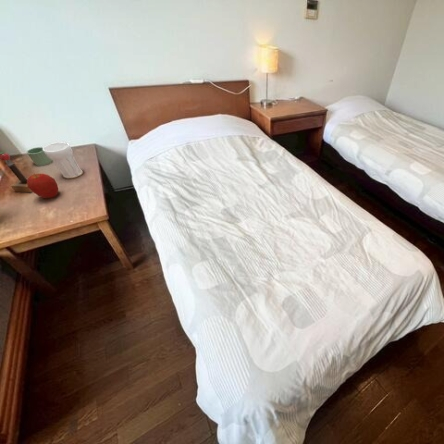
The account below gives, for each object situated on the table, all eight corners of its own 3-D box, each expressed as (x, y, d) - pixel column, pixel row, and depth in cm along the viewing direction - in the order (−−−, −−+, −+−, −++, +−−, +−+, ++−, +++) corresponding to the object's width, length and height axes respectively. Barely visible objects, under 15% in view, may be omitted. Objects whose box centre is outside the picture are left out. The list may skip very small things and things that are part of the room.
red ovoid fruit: (63, 188, 133) (47, 165, 124) (64, 198, 128) (47, 175, 118) (38, 194, 128) (20, 171, 119) (38, 204, 123) (19, 181, 113)
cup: (59, 173, 143) (40, 145, 131) (83, 167, 149) (66, 140, 137) (63, 182, 137) (43, 153, 125) (87, 175, 143) (70, 148, 131)
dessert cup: (31, 164, 147) (22, 152, 142) (45, 158, 153) (37, 146, 147) (42, 167, 146) (33, 155, 140) (56, 161, 152) (48, 149, 146)
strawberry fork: (23, 189, 130) (-6, 154, 116) (29, 185, 133) (0, 150, 119) (30, 190, 130) (2, 155, 116) (36, 186, 133) (8, 151, 119)
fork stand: (15, 192, 128) (10, 185, 125) (28, 183, 134) (22, 177, 131) (32, 192, 129) (27, 186, 126) (43, 184, 135) (38, 178, 132)
